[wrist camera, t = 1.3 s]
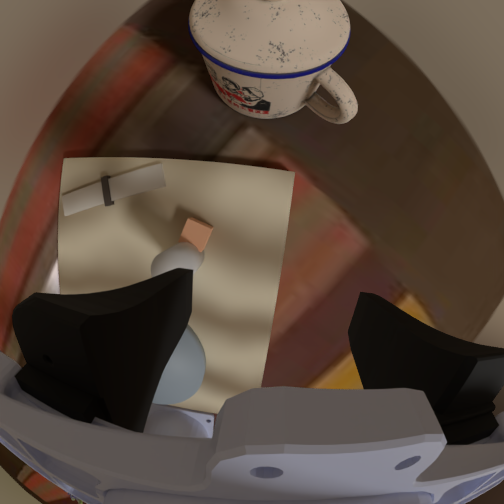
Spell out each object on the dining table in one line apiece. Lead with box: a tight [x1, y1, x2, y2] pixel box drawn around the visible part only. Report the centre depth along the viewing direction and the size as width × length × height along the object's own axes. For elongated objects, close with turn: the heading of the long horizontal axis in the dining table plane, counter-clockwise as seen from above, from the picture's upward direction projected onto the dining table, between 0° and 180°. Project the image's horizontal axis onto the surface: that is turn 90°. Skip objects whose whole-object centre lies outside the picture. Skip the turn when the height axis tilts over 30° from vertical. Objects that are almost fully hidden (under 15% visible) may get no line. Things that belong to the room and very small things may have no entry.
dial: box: [151, 217, 214, 405], centre depth 19 cm, size 18×10×5 cm, turn 155°
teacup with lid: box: [188, 0, 358, 124], centre depth 13 cm, size 12×9×12 cm
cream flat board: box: [58, 157, 295, 414], centre depth 22 cm, size 23×20×2 cm
